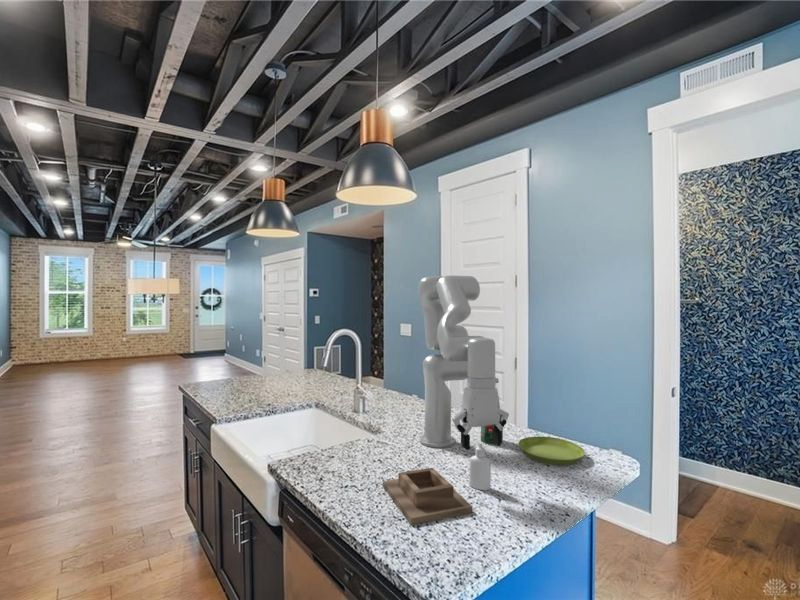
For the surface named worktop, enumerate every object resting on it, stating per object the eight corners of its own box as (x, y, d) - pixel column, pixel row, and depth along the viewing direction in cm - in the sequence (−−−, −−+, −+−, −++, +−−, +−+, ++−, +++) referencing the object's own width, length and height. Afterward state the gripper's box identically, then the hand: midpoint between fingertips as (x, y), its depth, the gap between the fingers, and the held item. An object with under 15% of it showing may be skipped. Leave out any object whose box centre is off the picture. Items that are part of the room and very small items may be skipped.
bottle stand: (382, 486, 109) (382, 468, 109) (435, 478, 115) (435, 460, 115) (410, 525, 91) (411, 502, 91) (472, 512, 97) (472, 491, 97)
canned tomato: (493, 447, 141) (494, 415, 141) (476, 440, 147) (476, 410, 147) (507, 442, 146) (507, 412, 146) (489, 436, 152) (490, 407, 152)
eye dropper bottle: (479, 481, 114) (479, 439, 114) (492, 489, 109) (493, 445, 109) (466, 484, 111) (467, 441, 112) (480, 493, 107) (480, 447, 107)
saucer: (505, 449, 140) (506, 439, 140) (553, 442, 147) (553, 433, 147) (547, 473, 120) (547, 462, 121) (599, 464, 128) (599, 454, 128)
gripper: (499, 379, 117) (499, 439, 116) (446, 382, 110) (446, 445, 110) (516, 383, 110) (516, 447, 109) (460, 387, 103) (460, 454, 103)
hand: (481, 446), depth 109 cm, fingers open, 9 cm apart
